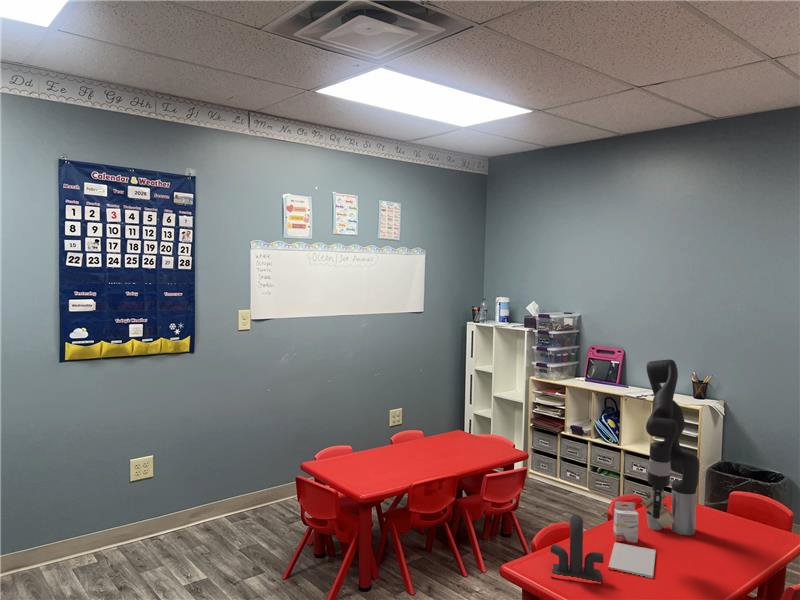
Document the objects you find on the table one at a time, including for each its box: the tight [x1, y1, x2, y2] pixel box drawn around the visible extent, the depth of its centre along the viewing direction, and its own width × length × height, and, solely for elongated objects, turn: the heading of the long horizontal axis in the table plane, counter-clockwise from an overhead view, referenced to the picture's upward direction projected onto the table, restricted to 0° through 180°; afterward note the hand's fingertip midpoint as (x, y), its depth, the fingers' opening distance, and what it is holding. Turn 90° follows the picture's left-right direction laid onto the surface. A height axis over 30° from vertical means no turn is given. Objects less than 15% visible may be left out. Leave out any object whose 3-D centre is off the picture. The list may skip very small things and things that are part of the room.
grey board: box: [607, 541, 657, 579], centre depth 225 cm, size 22×15×1 cm
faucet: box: [550, 513, 604, 583], centre depth 217 cm, size 18×16×20 cm
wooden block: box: [644, 496, 675, 529], centre depth 221 cm, size 4×4×10 cm
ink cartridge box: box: [612, 501, 639, 543], centre depth 242 cm, size 9×5×15 cm, turn 84°
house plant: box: [635, 489, 671, 531], centre depth 254 cm, size 14×14×16 cm
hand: (656, 514), depth 222 cm, fingers closed on wooden block, 4 cm apart
